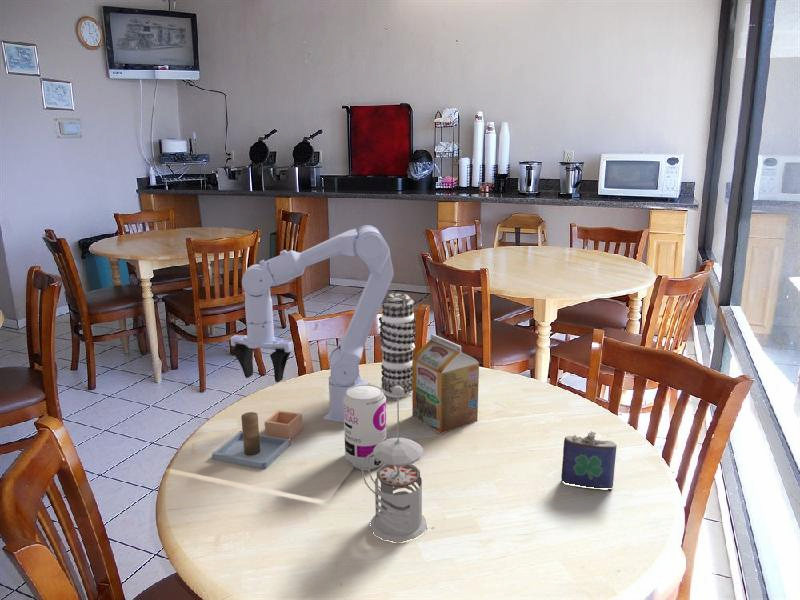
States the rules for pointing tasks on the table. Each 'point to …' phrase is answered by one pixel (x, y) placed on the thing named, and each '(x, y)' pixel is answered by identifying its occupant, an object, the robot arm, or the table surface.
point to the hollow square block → (283, 424)
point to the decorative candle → (397, 343)
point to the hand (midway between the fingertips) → (264, 378)
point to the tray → (235, 454)
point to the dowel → (250, 433)
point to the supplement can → (364, 424)
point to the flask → (588, 461)
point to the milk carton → (444, 385)
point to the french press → (397, 487)
